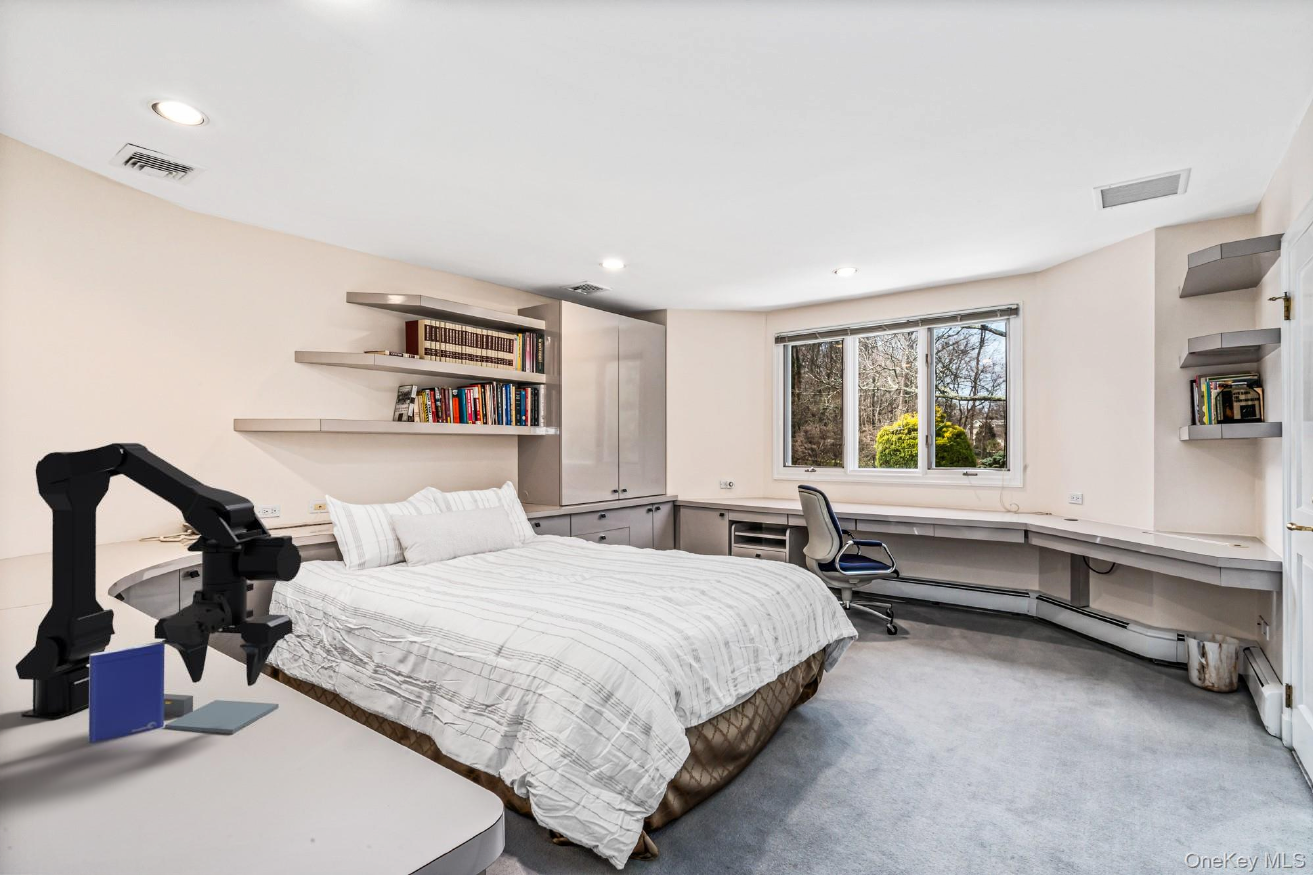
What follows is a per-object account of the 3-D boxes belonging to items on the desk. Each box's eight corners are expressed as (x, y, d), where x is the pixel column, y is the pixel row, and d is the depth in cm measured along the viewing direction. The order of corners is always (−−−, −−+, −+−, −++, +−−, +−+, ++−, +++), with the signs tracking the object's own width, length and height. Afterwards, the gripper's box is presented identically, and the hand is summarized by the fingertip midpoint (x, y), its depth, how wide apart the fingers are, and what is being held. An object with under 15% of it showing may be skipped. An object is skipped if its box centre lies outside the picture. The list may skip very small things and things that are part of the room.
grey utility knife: (114, 712, 98) (114, 696, 98) (125, 707, 100) (126, 691, 100) (182, 716, 96) (182, 700, 96) (192, 711, 98) (193, 695, 98)
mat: (164, 728, 92) (164, 724, 92) (215, 703, 101) (215, 699, 101) (233, 733, 91) (233, 729, 91) (278, 707, 100) (278, 703, 100)
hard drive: (164, 727, 93) (165, 643, 93) (89, 747, 87) (90, 656, 87) (162, 724, 94) (163, 640, 94) (88, 743, 88) (89, 653, 88)
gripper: (119, 590, 89) (118, 701, 89) (238, 595, 87) (237, 709, 87) (187, 574, 100) (186, 672, 100) (295, 578, 98) (294, 679, 98)
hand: (224, 683), depth 96 cm, fingers open, 9 cm apart
